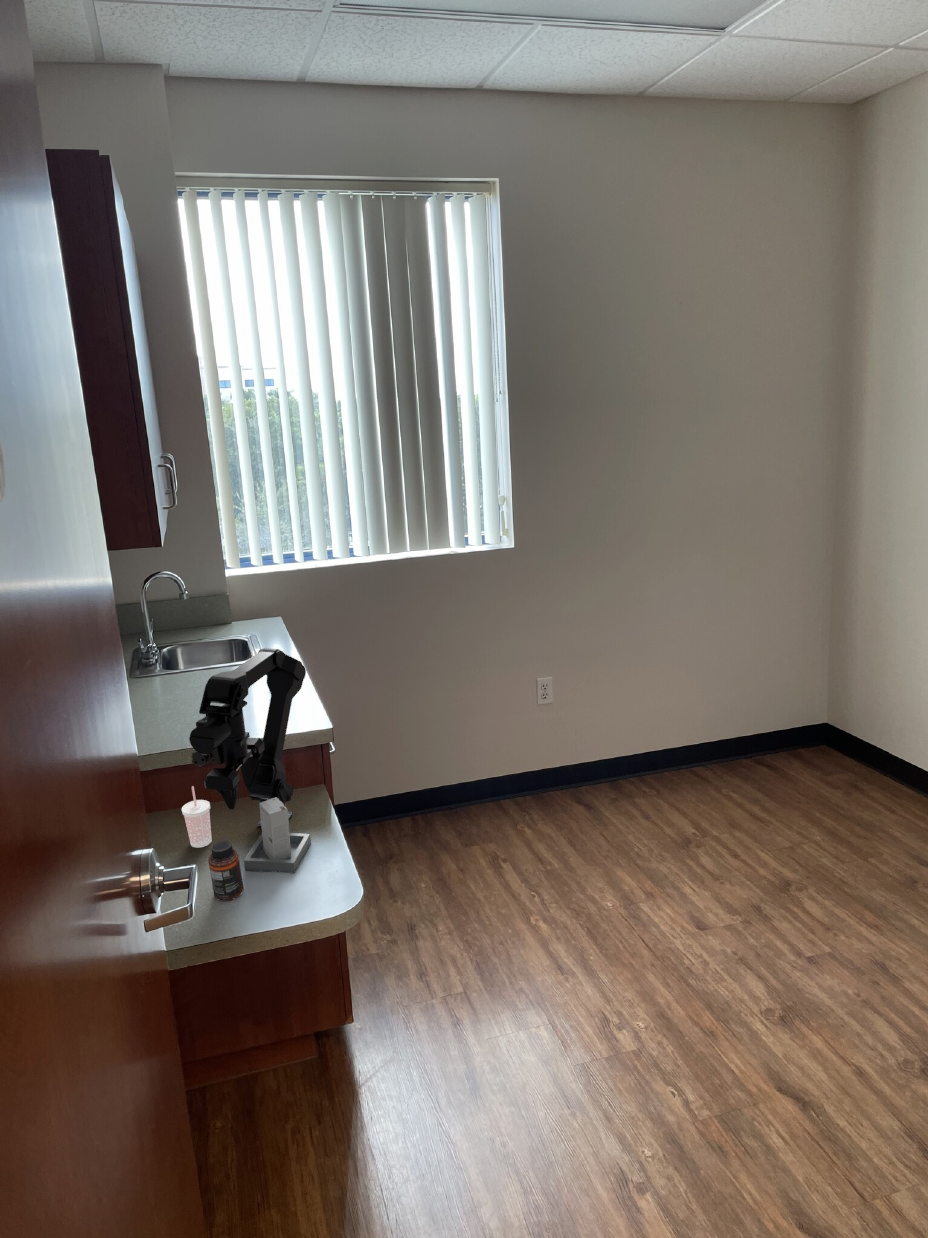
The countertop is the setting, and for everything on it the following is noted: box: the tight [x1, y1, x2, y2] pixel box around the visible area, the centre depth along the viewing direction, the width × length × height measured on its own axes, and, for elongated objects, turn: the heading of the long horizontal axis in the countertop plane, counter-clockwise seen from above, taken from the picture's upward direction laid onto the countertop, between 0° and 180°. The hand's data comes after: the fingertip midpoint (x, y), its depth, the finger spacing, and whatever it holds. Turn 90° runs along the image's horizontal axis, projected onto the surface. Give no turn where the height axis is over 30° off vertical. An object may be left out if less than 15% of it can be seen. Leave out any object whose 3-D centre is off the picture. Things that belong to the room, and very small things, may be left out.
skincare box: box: [258, 797, 291, 860], centre depth 183 cm, size 6×4×12 cm
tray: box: [243, 832, 312, 874], centre depth 184 cm, size 11×11×2 cm
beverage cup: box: [181, 785, 213, 848], centre depth 189 cm, size 6×6×14 cm
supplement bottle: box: [208, 839, 244, 902], centre depth 171 cm, size 6×6×11 cm
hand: (240, 798), depth 184 cm, fingers open, 9 cm apart
